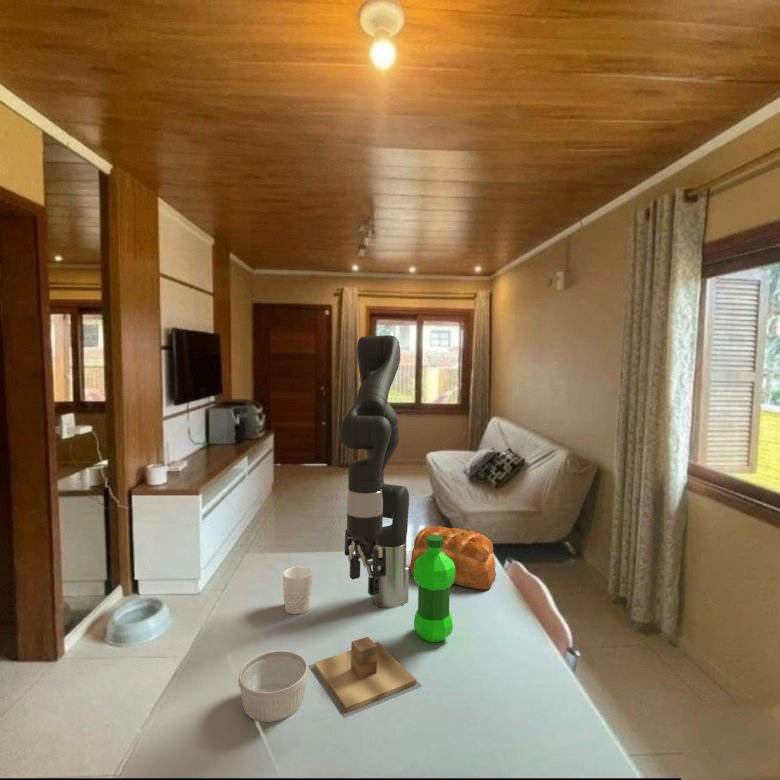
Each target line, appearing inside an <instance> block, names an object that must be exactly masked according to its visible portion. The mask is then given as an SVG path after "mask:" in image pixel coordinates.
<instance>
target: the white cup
mask: <svg viewBox="0 0 780 780" xmlns="http://www.w3.org/2000/svg"><path fill="white" fill-rule="evenodd" d="M312 581H313V571H312V569H311V568H310V567H307V566H293V567H289V568H287V569H285V570H284V571H283V573H282V583H283V585H282V586H283V587H282V589H283V600H284V611H285V612H286V613H288V614H292V615H301V614H305V613H306V612H307V611H309V609H310V608H311V597H312V585H313V584H312Z"/></svg>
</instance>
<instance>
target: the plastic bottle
mask: <svg viewBox="0 0 780 780" xmlns="http://www.w3.org/2000/svg"><path fill="white" fill-rule="evenodd" d="M426 546H428V551H427V552H425V553H424V554H422V555H421V556H420V557H419V558H418V559H416V562H415V564H414V571H413V575H414V576H413V575H412V576H413V580H414V582H415V583H417V585H418V588H417V589H418V590H417V591H418V592H417V593H418V594H417V597H418V598H417V610H416V612H415V614H414V617H413V618H414V620H413V628H414V631H415V632H416V634H418V636H419V637H421V638H422V639H423V640H425V641H427V642H430V643H441V642H443V641H444V640H445V639H446V638H448V637H449V636H450V635H451V634H452V632H453V626H454V625H453V616H452V613H451V611H450V590H451V589H450V588H451V586H452V585H453V583H454V580H455V565H454V563H453V561H452V560H451V559H450V558H449V557H448V556H447V555H445V554H444V553H443V552H442V551H441V547H443V537H442V536H440V535H429V536H427V539H426Z"/></svg>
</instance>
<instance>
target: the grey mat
mask: <svg viewBox="0 0 780 780" xmlns="http://www.w3.org/2000/svg"><path fill="white" fill-rule="evenodd" d="M400 665H401V666H402V667H403V668H404V669H405V670H406V671H407V672H408V673H409V674H410V675H411V676H412V677H413V678H414V679H415V680H416V685H414V686H411V687H409V688H406V689H404V690H401V691H399V692H396V693H394V694H391V695H389V696H387V697H384V698H382V699H379V700H377V701H374V702H372V703H369V704H367V705H364V706H362V707H359V708H357V709H354V710H352V711H349V712H347V713H346V711H345V710H344V708H343V707H342V706H341V704H340V703H339V701H338V700H337V698H336V697H335V696H334V694H333V693H332V691H331V690H330V688H329V687H328V686H327V684H326V683H325V681H324V680H323V678H322V677H321V676H320V674H319V673H318V671H317V670H316V668H315V667H314V663H312V664H310V665H309V664H308V669H309V670H311V672H312V674H313V675H314V676H315V678H316V679H317V680H318V683H319V684H320V685H321V687H322V688H323V689H324V691H325V693H326V694H327V696H328V697H329V699H330V700H331V702H332V703H333V705H334V706H335V707H336V709H337V710H338V712H339V713H340V714H341V716H342V718H344V719H345V718H348V717H351V716H353V715H355V714H357V713H360V712H362V711H365V710H368V709H370V708H373V707H375V706H378V705H380V704H383V703H385V702H387V701H389V700H392V699H394V698H397V697H399V696H402V695H404V694H407V693H409V692H411V691H413V690H416V689H419V688H421V687H423V685H422V684H421V683H420V682H419V681H418V680H417V679H416V678H415V677H414V676H413V675H412V674H411V673H410V672H409V671H408V669H406V667H404V666H403V665H402V663H400Z"/></svg>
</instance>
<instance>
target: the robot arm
mask: <svg viewBox="0 0 780 780" xmlns="http://www.w3.org/2000/svg"><path fill="white" fill-rule="evenodd" d="M356 355H357V356H356V357H357V362H358V363H357V364H358V372H359V378H360V384H361V385H360V386H359V389H358V390H357V395H356V398H355V403H354V405H353V406H352V408H351V409H350V410H349V411H348V413H347V414H346V415H345V417H344V418H343V420H342V423H341V425H340V428H339V438H340V442H341V443H342V445H343V446H344V447H345V448H347V449H351V450H366V454H367V455H366V456H367V457H366V458H362V459H357V460H353V461H351V462H350V463H349V465H348V478H347V479H348V483H347V484H348V489H347V497H346V498H347V499H346V529H345V532H344V534H345V535H344V536H345V537H344V556H347V559H348V562H349V578H350V579H351V580H356V579H359V578H360V577H361V561H362V565H363V567H364V568H366V571H367V575H368V579H367V583H368V584H367V585H368V586H367V590H368V591H367V593H368V595H369V596H373V597H372V602H373V603H374V605H375V606H377V607H378V608H379V607H380V608H382V609H383V608H390V609H391V608H398V607H400V606H403V605H404V604H405V603H406V602H407V603H408V602H409V587H410V585H409V583H410V576H409V575H410V567H408V566H407V535H408V527H409V526H408V525H409V509H410V494H409V490H408V488H407V487H406V486H403V485H397V484H389V483H388V484H387V483H385V480H384V478H385V477H384V475H385V474H384V473H385V469H386V467H387V464H388V462H389V461H390V459H391V457H392V456H393V454H394V453H395V451H396V449H397V448H398V444H399V442H400V432H399V431H400V429H399V418H398V415H397V413H396V411H395V410H394V409H393V407H392V406H391V404H390V403H389V402H388V399H389V393H390V391H391V388H392V385H393V382H394V380H395V377H396V375H397V372H398V369H399V367H400V362H401V346H400V342H399V339H398V337H396V336H394V335H388V334H387V335H369V336H367V335H366V336H361V337H359V339H358V340H357V345H356ZM383 518H385V519H391V520H392V521H391V524H390V525H385V526H383V521H384V520H383Z"/></svg>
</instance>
